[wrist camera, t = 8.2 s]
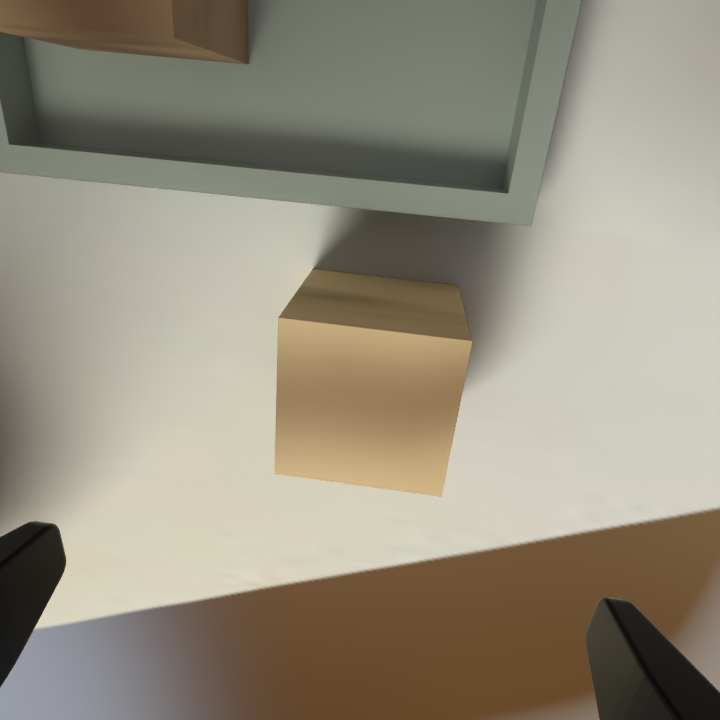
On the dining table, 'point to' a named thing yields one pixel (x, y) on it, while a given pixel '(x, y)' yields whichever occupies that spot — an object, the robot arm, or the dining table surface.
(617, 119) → the dining table surface
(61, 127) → the tray
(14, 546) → the robot arm
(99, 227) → the dining table surface
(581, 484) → the dining table surface
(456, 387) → the oak block
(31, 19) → the walnut block
